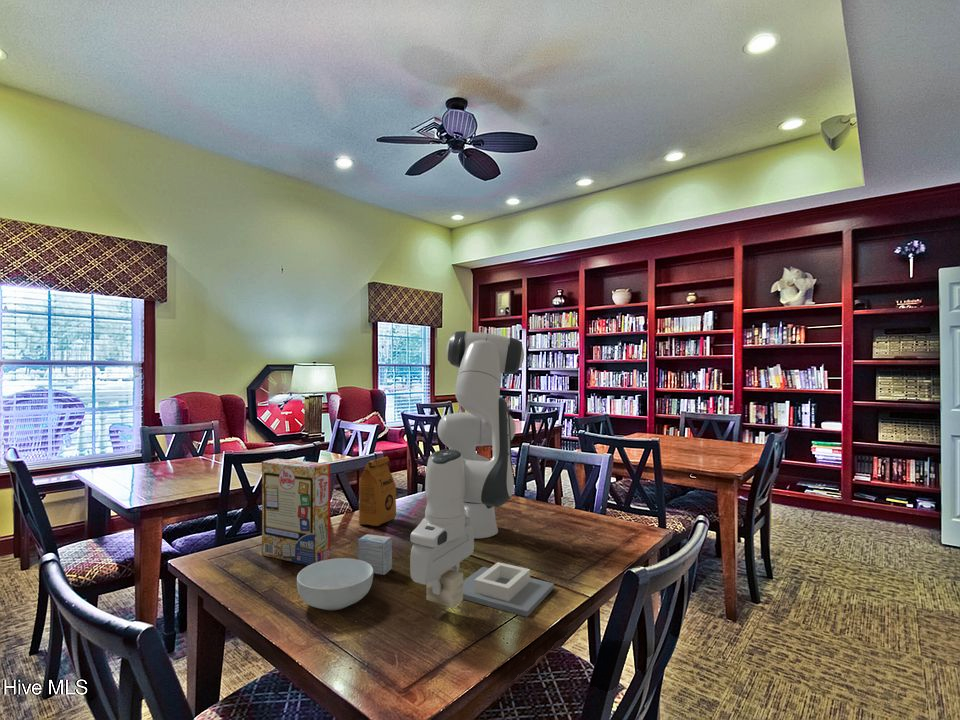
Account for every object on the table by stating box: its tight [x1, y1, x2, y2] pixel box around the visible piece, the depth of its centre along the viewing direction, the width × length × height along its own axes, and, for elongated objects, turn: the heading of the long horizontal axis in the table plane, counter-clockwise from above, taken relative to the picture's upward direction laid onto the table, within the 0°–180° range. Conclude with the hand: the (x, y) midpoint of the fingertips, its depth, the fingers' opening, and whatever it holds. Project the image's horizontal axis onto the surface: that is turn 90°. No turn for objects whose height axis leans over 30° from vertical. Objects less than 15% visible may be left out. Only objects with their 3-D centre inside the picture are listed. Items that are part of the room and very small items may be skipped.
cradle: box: [463, 561, 555, 618], centre depth 121 cm, size 20×16×4 cm
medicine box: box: [357, 533, 393, 576], centre depth 133 cm, size 8×4×9 cm, turn 71°
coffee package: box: [358, 456, 397, 527], centre depth 173 cm, size 10×12×22 cm
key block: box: [425, 569, 464, 608], centre depth 111 cm, size 7×4×6 cm, turn 60°
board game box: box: [261, 458, 331, 566], centre depth 141 cm, size 20×6×27 cm, turn 65°
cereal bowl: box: [296, 557, 374, 611], centre depth 116 cm, size 17×17×7 cm
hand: (444, 587), depth 111 cm, fingers closed on key block, 4 cm apart
